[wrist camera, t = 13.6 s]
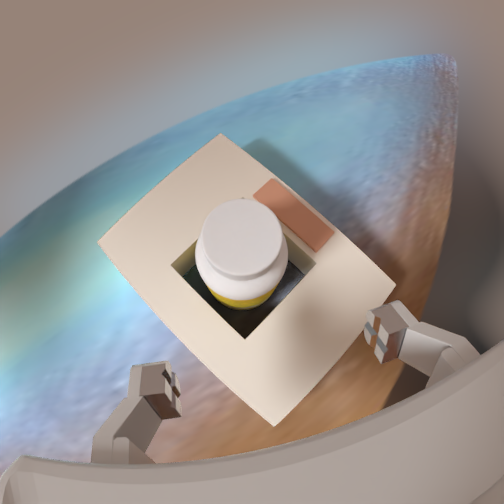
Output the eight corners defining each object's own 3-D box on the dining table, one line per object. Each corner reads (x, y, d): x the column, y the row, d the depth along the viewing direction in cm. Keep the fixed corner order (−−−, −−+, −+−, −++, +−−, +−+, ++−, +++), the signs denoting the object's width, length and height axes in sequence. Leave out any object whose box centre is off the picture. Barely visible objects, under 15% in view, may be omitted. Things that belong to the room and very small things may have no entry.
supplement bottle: (287, 293, 23) (317, 263, 14) (224, 322, 22) (210, 311, 13) (258, 234, 24) (267, 171, 15) (197, 260, 24) (169, 210, 14)
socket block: (116, 256, 24) (94, 240, 19) (223, 159, 26) (220, 130, 22) (269, 412, 20) (274, 428, 16) (374, 293, 23) (398, 284, 19)
